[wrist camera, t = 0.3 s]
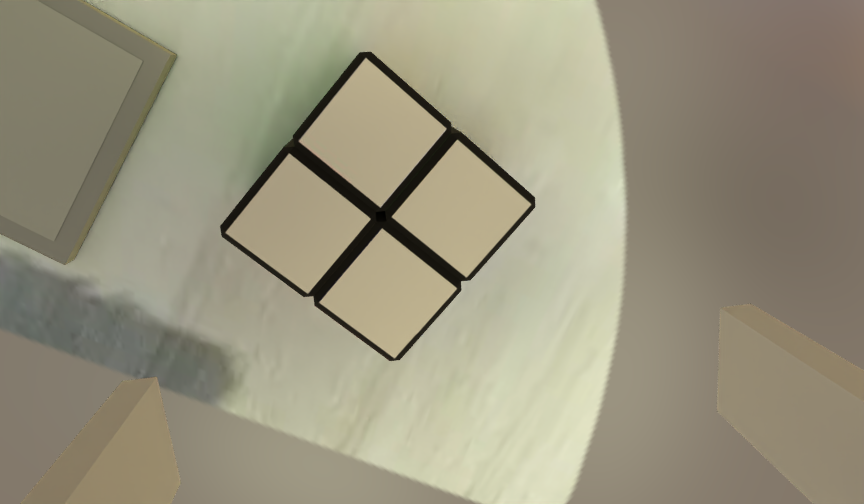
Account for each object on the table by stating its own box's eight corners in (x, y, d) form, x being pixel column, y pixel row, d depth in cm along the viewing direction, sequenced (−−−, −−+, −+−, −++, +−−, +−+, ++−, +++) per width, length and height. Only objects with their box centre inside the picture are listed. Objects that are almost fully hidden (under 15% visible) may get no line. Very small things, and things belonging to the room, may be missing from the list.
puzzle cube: (388, 296, 39) (396, 368, 30) (252, 192, 37) (212, 234, 27) (497, 170, 38) (542, 202, 28) (363, 53, 35) (363, 45, 26)
